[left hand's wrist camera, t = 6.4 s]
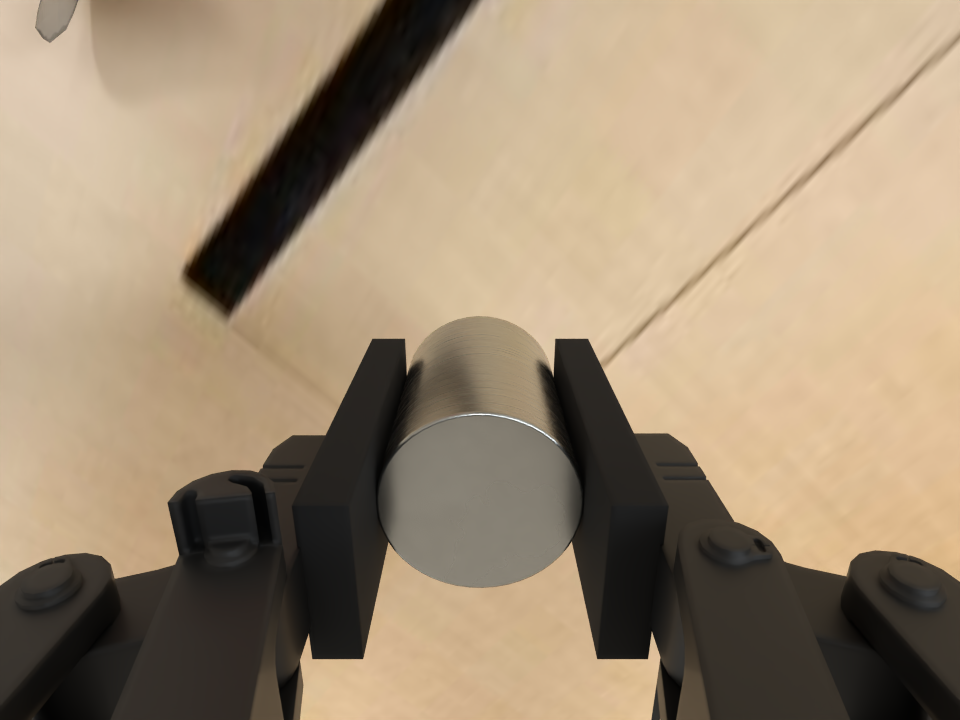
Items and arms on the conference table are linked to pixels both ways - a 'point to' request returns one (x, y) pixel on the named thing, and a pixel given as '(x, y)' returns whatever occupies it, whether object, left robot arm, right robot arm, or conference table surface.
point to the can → (479, 459)
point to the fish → (54, 17)
